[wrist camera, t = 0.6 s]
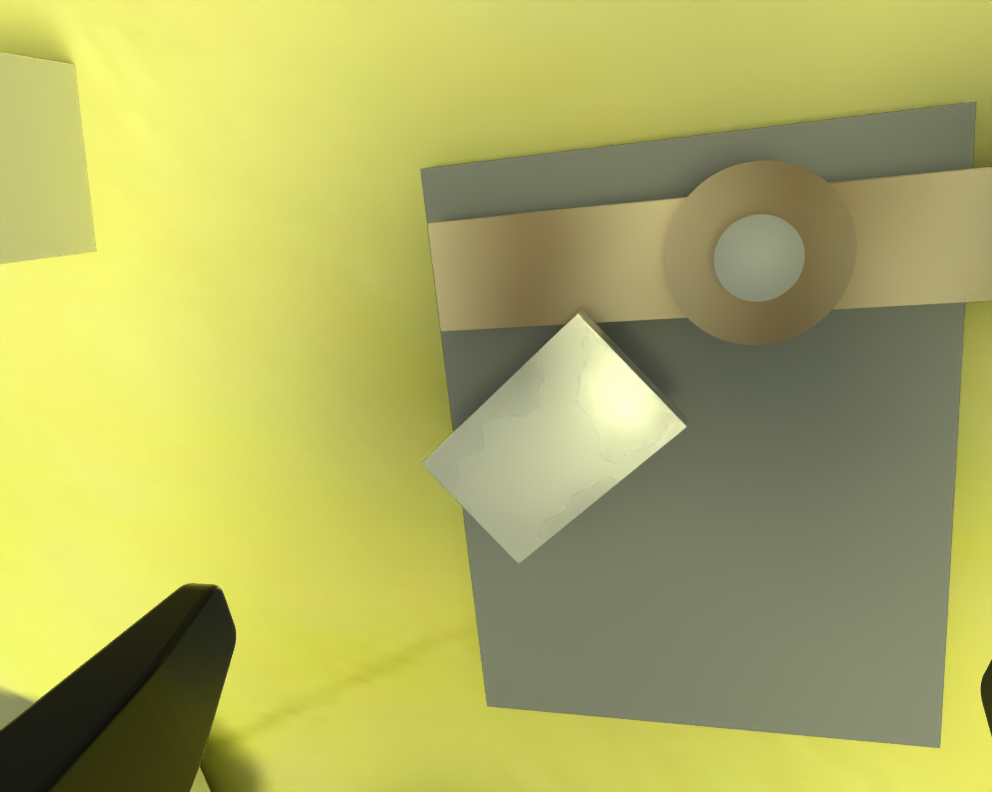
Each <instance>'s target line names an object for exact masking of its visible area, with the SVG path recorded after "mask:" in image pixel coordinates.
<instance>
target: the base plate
mask: <svg viewBox="0 0 992 792" xmlns="http://www.w3.org/2000/svg"><path fill="white" fill-rule="evenodd" d="M975 116H976V102H969V103H961V104H953V105H945V106H936V107H928V108H920V109H912V110H903V111H895V112H887V113H879V114H870V115H862V116H854V117H846V118H837V119H829V120H821V121H813V122H804V123H796V124H788V125H780V126H771V127H763V128H755V129H747V130H738V131H730V132H722V133H714V134H705V135H697V136H689V137H681V138H672V139H664V140H656V141H648V142H639V143H631V144H623V145H615V146H606V147H598V148H590V149H582V150H573V151H565V152H557V153H549V154H540V155H532V156H524V157H516V158H507V159H499V160H491V161H483V162H474V163H466V164H458V165H450V166H441V167H433V168H425V169H421V177H422V186H423V194H424V202H425V210H426V218H427V226H428V223H434V222H439V221H449V220H459V219H469V218H479V217H489V216H499V215H509V214H519V213H530V212H540V211H550V210H560V209H570V208H580V207H590V206H600V205H610V204H620V203H630V202H640V201H650V200H660V199H670V198H681V197H688V196H689V195H690V194H691V193H692V192H693V191H694V190H695V189H696V188H697V187H698V186H699V185H700V184H701V183H703V182H704V181H705V180H706V179H708V178H709V177H711V176H713V175H714V174H716V173H718V172H720V171H722V170H724V169H726V168H729V167H732V166H735V165H738V164H742V163H747V162H752V161H765V160H771V161H782V162H786V163H791V164H795V165H798V166H800V167H803V168H806V169H808V170H810V171H811V172H813V173H815V174H817V175H818V176H820V177H821V178H822V179H824V180H825V181H826V182H828V183H831V182H842V181H852V180H862V179H872V178H882V177H892V176H902V175H912V174H922V173H932V172H942V171H952V170H962V169H972V168H973V152H974V134H975ZM428 234H429V231H428ZM429 242H430V239H429ZM430 250H431V247H430ZM431 258H432V255H431ZM804 261H805V250H804V245H803V242H802V239H801V237H800V235H799V234H798V232H797V231H796V230H795V229H794V228H793V227H792V226H791V225H790V224H789V223H788V222H786V221H785V220H783V219H781V218H779V217H776V216H773V215H769V214H755V215H750V216H746V217H744V218H741V219H739V220H737V221H736V222H734V223H733V224H731V225H730V226H729V227H728V228H727V229H726V230H725V231H724V233H723V234H722V235H721V237H720V238H719V240H718V243H717V245H716V248H715V253H714V267H715V272H716V275H717V277H718V279H719V281H720V283H721V284H722V286H723V287H724V288H725V289H726V290H727V291H728V292H729V293H731V294H732V295H734V296H735V297H737V298H740V299H742V300H746V301H752V302H761V301H767V300H771V299H774V298H776V297H778V296H780V295H782V294H783V293H785V292H786V291H788V290H789V289H790V288H791V287H792V286H793V285H794V284H795V282H796V281H797V280H798V278H799V276H800V274H801V272H802V269H803V266H804ZM432 266H433V263H432ZM433 274H434V271H433ZM434 282H435V279H434ZM435 290H436V287H435ZM436 298H437V296H436ZM437 306H438V304H437ZM964 313H965V302H959V303H941V304H923V305H905V306H887V307H869V308H851V309H833V310H831V311H830V312H829V314H828V315H827V316H826V317H824V318H823V319H822V320H821V321H820V322H818V323H817V324H816V325H814V326H813V327H811V328H810V329H808V330H807V331H805V332H803V333H801V334H799V335H797V336H795V337H793V338H790V339H787V340H784V341H781V342H776V343H772V344H764V345H744V344H736V343H732V342H728V341H724V340H721V339H719V338H717V337H714V336H712V335H710V334H708V333H707V332H705V331H703V330H701V329H700V328H699V327H697V326H696V325H695V324H694V323H692V322H691V321H690V320H689V319H688V318H671V319H653V320H635V321H617V322H599V323H596V324H597V325H598V326H599V327H600V328H601V329H602V330H603V331H604V332H605V333H606V334H607V335H608V336H609V337H610V338H611V339H612V340H613V341H614V342H615V344H616V345H617V346H618V347H619V348H620V349H621V350H622V351H623V352H624V353H625V354H626V355H627V356H628V357H629V358H630V359H631V360H632V361H633V362H634V363H635V364H636V365H637V366H638V367H639V368H640V369H641V370H642V372H643V373H644V374H645V375H646V376H647V377H648V378H649V379H650V380H651V381H652V382H653V383H654V384H655V385H656V386H657V387H658V388H659V389H660V390H661V391H662V392H663V393H664V394H665V395H666V396H667V397H668V399H669V400H670V401H671V402H672V403H673V404H674V405H675V406H676V407H677V408H678V409H679V410H680V411H681V412H682V413H683V414H684V415H685V416H686V417H687V418H688V420H687V427H686V428H685V429H683V430H682V431H681V432H680V433H678V434H677V435H676V436H675V437H674V438H672V439H671V440H670V441H669V442H667V443H666V444H665V445H664V446H663V447H661V448H660V449H659V450H658V451H656V452H655V453H654V454H653V455H651V456H650V457H649V458H648V459H647V460H645V461H644V462H643V463H642V464H640V465H639V466H638V467H637V468H636V469H634V470H633V471H632V472H631V473H629V474H628V475H627V476H626V477H625V478H623V479H622V480H621V481H620V482H618V483H617V484H616V485H615V486H613V487H612V488H611V489H610V490H609V491H607V492H606V493H605V494H604V495H602V496H601V497H600V498H599V499H598V500H596V501H595V502H594V503H593V504H591V505H590V506H589V507H588V508H587V509H585V510H584V511H583V512H582V513H580V514H579V515H578V516H577V517H576V518H574V519H573V520H572V521H571V522H569V523H568V524H567V525H566V526H564V527H563V528H562V529H561V530H560V531H558V532H557V533H556V534H555V535H553V536H552V537H551V538H550V539H549V540H547V541H546V542H545V543H544V544H542V545H541V546H540V547H539V548H538V549H536V550H535V551H534V552H533V553H531V554H530V555H529V556H528V557H526V558H525V559H524V560H523V561H522V562H520V563H519V564H518V563H517V562H516V561H515V560H514V559H513V558H512V557H511V556H510V555H509V554H508V553H507V551H506V550H505V549H504V548H503V547H502V546H501V545H500V544H499V543H498V542H497V541H496V540H495V539H494V538H493V537H492V536H491V535H490V534H489V533H488V532H487V531H486V530H485V529H484V528H483V527H482V526H481V525H480V524H479V523H478V522H477V521H476V520H475V519H474V518H473V517H472V515H471V514H470V513H469V512H468V511H467V510H466V509H465V508H464V507H463V506H462V507H463V515H464V523H465V531H466V539H467V547H468V555H469V563H470V571H471V579H472V587H473V596H474V604H475V612H476V620H477V628H478V636H479V644H480V652H481V660H482V668H483V676H484V684H485V692H486V700H487V706H489V707H500V708H511V709H522V710H533V711H544V712H554V713H565V714H576V715H587V716H598V717H609V718H620V719H630V720H641V721H652V722H663V723H674V724H685V725H695V726H706V727H717V728H728V729H739V730H750V731H761V732H771V733H782V734H793V735H804V736H815V737H826V738H837V739H847V740H858V741H869V742H880V743H891V744H902V745H912V746H923V747H934V748H940V742H941V724H942V706H943V688H944V670H945V652H946V634H947V617H948V599H949V581H950V563H951V545H952V527H953V509H954V492H955V474H956V456H957V438H958V420H959V402H960V384H961V366H962V349H963V331H964ZM438 314H439V312H438ZM439 322H440V320H439ZM565 325H566V324H563V325H545V326H527V327H509V328H491V329H473V330H455V331H441V338H442V346H443V354H444V362H445V370H446V378H447V387H448V395H449V403H450V411H451V419H452V427H453V432H454V431H455V430H456V429H457V428H458V427H459V426H460V425H461V424H462V423H463V422H464V421H465V420H466V419H467V418H468V417H470V416H471V415H472V414H473V413H474V412H475V411H476V410H477V409H478V408H479V407H480V406H481V405H483V404H484V403H485V402H486V401H487V400H488V399H489V398H490V397H491V396H492V395H493V394H494V393H495V392H496V391H497V390H498V389H499V388H500V387H501V386H502V385H503V384H504V383H505V382H506V381H508V380H509V379H510V378H511V377H512V376H513V375H514V374H515V373H516V372H517V371H518V370H519V369H520V368H521V367H522V366H523V365H524V364H525V363H526V362H527V361H528V360H529V359H530V358H531V357H532V356H534V355H535V354H536V353H537V352H538V351H539V350H540V349H541V348H542V347H543V346H544V345H545V344H546V343H547V342H548V341H549V340H550V339H551V338H552V337H553V336H554V335H555V334H556V333H557V332H559V331H560V330H561V329H562V328H563V327H564V326H565ZM440 330H441V328H440Z"/></svg>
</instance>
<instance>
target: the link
mask: <svg viewBox="0 0 992 792" xmlns="http://www.w3.org/2000/svg"><path fill="white" fill-rule="evenodd" d="M755 214H769V215H773V216H776V217H779V218H781V219H783V220H785V221H786V222H788V223H789V224H790V225H791V226H792V227H793V228H794V229H795V230H796V231H797V232H798V234H799V235H800V237H801V239H802V242H803V245H804V250H805V261H804V266H803V269H802V272H801V274H800V276H799V278H798V280H797V281H796V282H795V284H794V285H793V286H792V287H791V288H790V289H789V290H788V291H786V292H785V293H783V294H782V295H780V296H778V297H776V298H774V299H771V300H767V301H761V302H752V301H746V300H742V299H740V298H737V297H735V296H734V295H732V294H731V293H729V292H728V291H727V290H726V289H725V288H724V287H723V286H722V284H721V283H720V281H719V279H718V277H717V275H716V272H715V267H714V253H715V248H716V245H717V243H718V240H719V238H720V237H721V235H722V234H723V233H724V231H725V230H726V229H727V228H728V227H729V226H730V225H731V224H733V223H734V222H736V221H737V220H739V219H741V218H744V217H746V216H750V215H755ZM428 231H429V239H430V247H431V255H432V263H433V271H434V279H435V287H436V296H437V304H438V312H439V320H440V328H441V331H455V330H473V329H491V328H509V327H527V326H545V325H563V324H567V323H568V322H569V321H570V320H571V319H572V318H573V317H574V316H575V315H576V314H577V313H578V312H579V311H580V310H581V309H583V310H584V311H585V312H586V313H587V314H588V316H589V317H590V318H591V319H592V320H593V321H594V322H595V323H599V322H617V321H635V320H653V319H671V318H688V319H689V320H690V321H691V322H692V323H694V324H695V325H696V326H697V327H699V328H700V329H701V330H703V331H705V332H707V333H708V334H710V335H712V336H714V337H717V338H719V339H721V340H724V341H728V342H732V343H736V344H744V345H764V344H772V343H776V342H781V341H784V340H787V339H790V338H793V337H795V336H797V335H799V334H801V333H803V332H805V331H807V330H808V329H810V328H811V327H813V326H814V325H816V324H817V323H818V322H820V321H821V320H822V319H823V318H824V317H826V316H827V315H828V314H829V312H830V311H831V310H833V309H851V308H869V307H887V306H905V305H923V304H941V303H959V302H977V301H992V167H982V168H972V169H962V170H952V171H942V172H932V173H922V174H912V175H902V176H892V177H882V178H872V179H862V180H852V181H842V182H831V183H828V182H826V181H825V180H824V179H822V178H821V177H820V176H818V175H817V174H815V173H813V172H811V171H810V170H808V169H806V168H803V167H800V166H798V165H795V164H791V163H786V162H782V161H771V160H765V161H752V162H747V163H742V164H738V165H735V166H732V167H729V168H726V169H724V170H722V171H720V172H718V173H716V174H714V175H713V176H711V177H709V178H708V179H706V180H705V181H704V182H703V183H701V184H700V185H699V186H698V187H697V188H696V189H695V190H694V191H693V192H692V193H691V194H690V195H689V196H688V197H681V198H670V199H660V200H650V201H640V202H630V203H620V204H610V205H600V206H590V207H580V208H570V209H560V210H550V211H540V212H530V213H519V214H509V215H499V216H489V217H479V218H469V219H459V220H449V221H439V222H434V223H428Z"/></svg>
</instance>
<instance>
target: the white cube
mask: <svg viewBox="0 0 992 792" xmlns="http://www.w3.org/2000/svg"><path fill="white" fill-rule="evenodd" d="M89 252H97V251H96V242H95V234H94V225H93V216H92V208H91V199H90V190H89V182H88V173H87V165H86V156H85V147H84V139H83V130H82V121H81V113H80V104H79V95H78V87H77V78H76V69H75V64H69V63H63V62H57V61H51V60H45V59H39V58H33V57H28V56H22V55H16V54H10V53H4V52H0V264H4V263H12V262H19V261H27V260H35V259H43V258H50V257H58V256H66V255H73V254H81V253H89Z"/></svg>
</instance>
